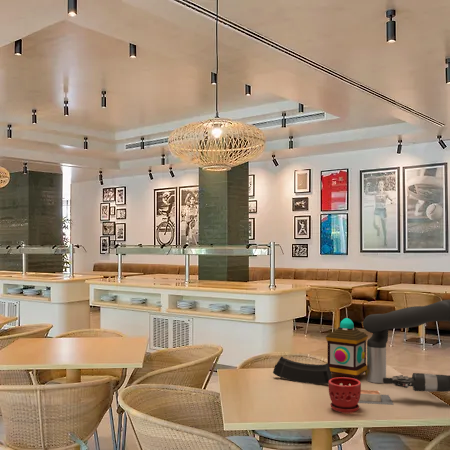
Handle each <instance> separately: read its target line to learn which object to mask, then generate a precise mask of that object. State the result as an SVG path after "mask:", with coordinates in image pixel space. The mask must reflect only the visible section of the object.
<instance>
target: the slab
mask: <svg viewBox="0 0 450 450" xmlns="http://www.w3.org/2000/svg"><path fill="white" fill-rule="evenodd" d="M381 395H382V393H381V391H380V390H374V389H373V390H371V389H369V390H368V389H361V395H360V399H359V401H376V402H381Z"/></svg>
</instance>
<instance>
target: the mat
mask: <svg viewBox="0 0 450 450" xmlns="http://www.w3.org/2000/svg"><path fill="white" fill-rule="evenodd" d="M393 402H394V401H393V400H392V398H391V396H390V395H389V394H381V402H376V401H359V402H358V404H368V405H369V404H371V405H387V406H388V405H389V406H391V405H392V406H394V403H393Z"/></svg>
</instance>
